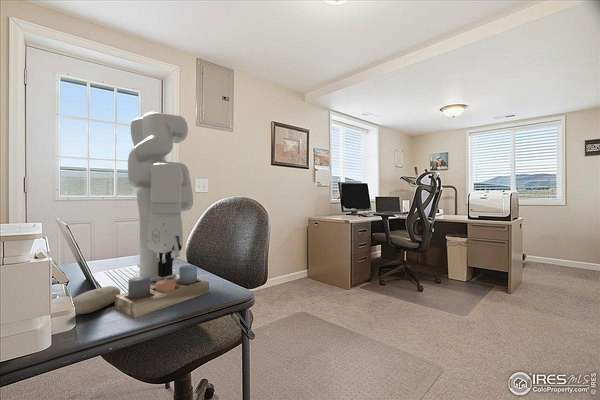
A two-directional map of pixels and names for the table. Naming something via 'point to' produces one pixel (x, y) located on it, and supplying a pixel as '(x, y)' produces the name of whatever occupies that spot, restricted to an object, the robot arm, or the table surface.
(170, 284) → the terracotta button
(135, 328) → the table surface
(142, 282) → the charcoal button
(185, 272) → the slate button
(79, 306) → the stone
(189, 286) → the birch board
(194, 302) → the table surface
